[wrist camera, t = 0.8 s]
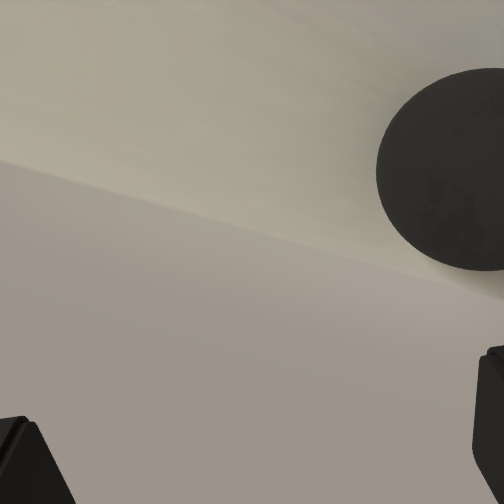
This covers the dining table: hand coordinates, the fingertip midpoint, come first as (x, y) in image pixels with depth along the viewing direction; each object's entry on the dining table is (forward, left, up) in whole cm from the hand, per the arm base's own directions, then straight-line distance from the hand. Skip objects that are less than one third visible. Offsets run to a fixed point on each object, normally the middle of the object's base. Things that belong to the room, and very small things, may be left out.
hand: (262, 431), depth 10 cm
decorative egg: (-1, +15, -29) cm, 33 cm away
